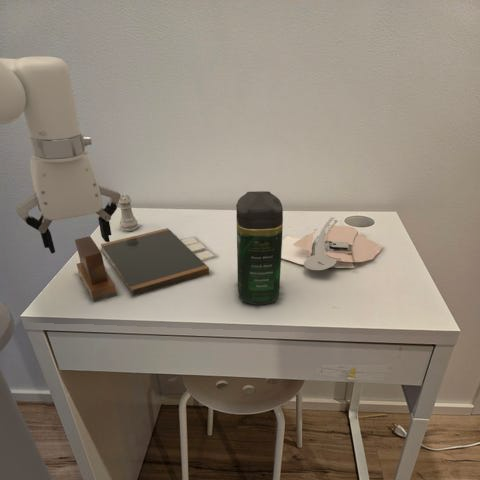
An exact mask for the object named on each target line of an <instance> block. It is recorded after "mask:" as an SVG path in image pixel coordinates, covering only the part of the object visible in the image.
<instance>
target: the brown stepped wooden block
mask: <svg viewBox="0 0 480 480" xmlns="http://www.w3.org/2000/svg"><path fill="white" fill-rule="evenodd" d="M74 242H75V246H76V249H77V254H78V257H79V260H80V262H78V263H75V265H76V268H77V272H78V275H79V276H80V279H81V280H82V282H83V284H84V287H85V289H86V290H87V292H88V294H89V296H90V297H91V299H92V301H93V303H96V302H98V301H102V300H105V299H110V298H113V297H116V296H118V294H117V290H116V284H115V283H114V281H113V280H112V278H111V277H110V275H109V273H108V272H107V270H106V267H105V262H104V258H103V253H102V252H101V250H100V248H99V247H98V246H97V244H96V242H95V241H94V240H93V238H92V237H91V236H90V235H89V236H84V237H80V238H76V239H74Z"/></svg>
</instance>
